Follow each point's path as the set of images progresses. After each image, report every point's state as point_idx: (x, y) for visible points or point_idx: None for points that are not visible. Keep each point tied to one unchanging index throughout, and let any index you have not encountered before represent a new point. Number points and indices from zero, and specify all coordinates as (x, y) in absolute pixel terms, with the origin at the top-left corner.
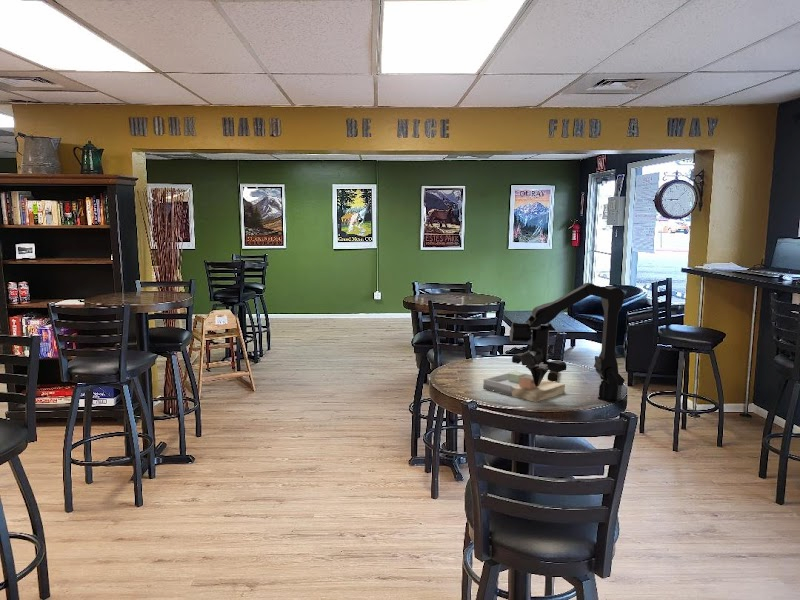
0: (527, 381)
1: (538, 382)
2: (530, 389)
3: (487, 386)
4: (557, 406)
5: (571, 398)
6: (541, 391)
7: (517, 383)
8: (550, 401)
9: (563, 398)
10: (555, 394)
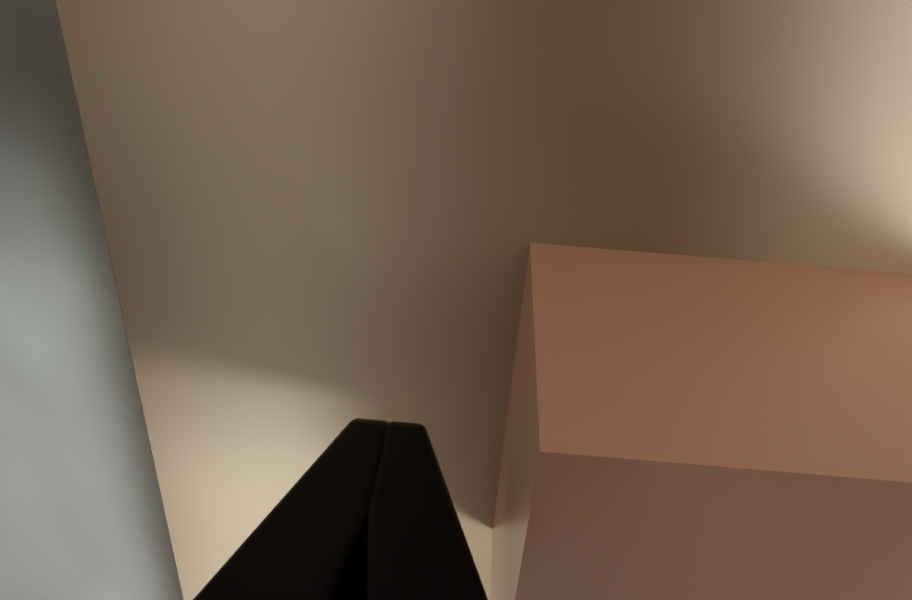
0: (708, 418)
1: (271, 524)
2: (501, 205)
3: None
4: None
5: (3, 568)
6: (136, 249)
7: None
8: (29, 195)
9: (63, 504)
10: None
